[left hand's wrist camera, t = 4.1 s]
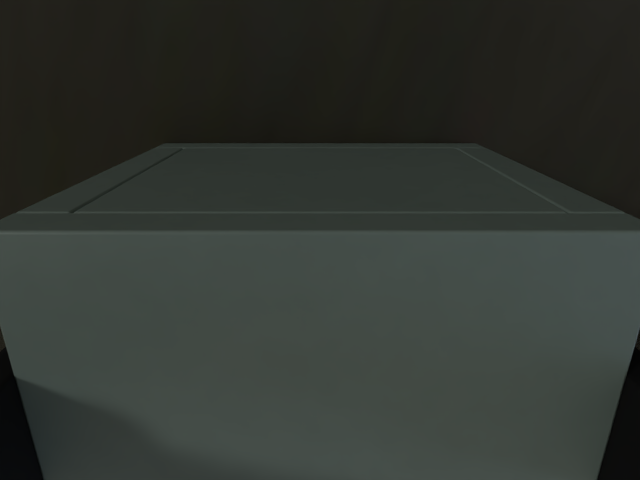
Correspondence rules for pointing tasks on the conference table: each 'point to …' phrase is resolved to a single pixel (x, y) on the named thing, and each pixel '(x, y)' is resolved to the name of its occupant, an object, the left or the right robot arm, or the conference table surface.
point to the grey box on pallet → (320, 316)
